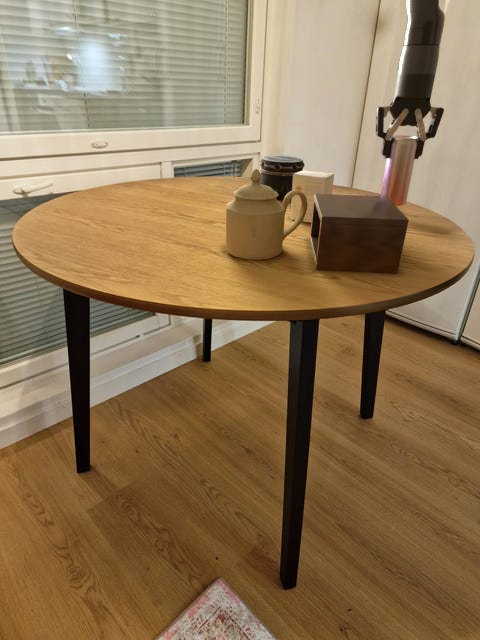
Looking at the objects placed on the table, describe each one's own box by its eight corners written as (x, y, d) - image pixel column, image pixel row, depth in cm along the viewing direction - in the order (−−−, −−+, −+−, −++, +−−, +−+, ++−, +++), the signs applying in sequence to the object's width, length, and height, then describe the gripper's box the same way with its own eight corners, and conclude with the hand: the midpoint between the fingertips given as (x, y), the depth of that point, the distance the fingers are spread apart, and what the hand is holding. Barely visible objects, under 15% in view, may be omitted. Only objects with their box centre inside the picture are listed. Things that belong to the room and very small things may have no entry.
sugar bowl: (265, 233, 91) (269, 159, 84) (306, 246, 84) (314, 167, 77) (213, 248, 82) (212, 167, 75) (253, 265, 75) (257, 177, 68)
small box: (329, 219, 101) (335, 173, 96) (321, 225, 97) (326, 177, 92) (298, 214, 105) (302, 169, 99) (289, 219, 100) (292, 173, 95)
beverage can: (374, 204, 101) (385, 136, 93) (387, 200, 104) (398, 134, 97) (397, 209, 97) (410, 139, 90) (410, 205, 101) (423, 136, 93)
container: (304, 191, 126) (307, 156, 121) (298, 201, 115) (302, 163, 110) (262, 188, 129) (264, 153, 124) (253, 198, 118) (254, 160, 113)
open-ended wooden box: (378, 242, 87) (386, 196, 82) (397, 273, 73) (409, 219, 68) (309, 239, 88) (314, 193, 83) (315, 269, 74) (322, 216, 69)
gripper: (384, 71, 85) (371, 160, 93) (459, 72, 84) (438, 161, 92) (377, 72, 91) (365, 155, 99) (446, 72, 90) (428, 156, 98)
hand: (400, 157), depth 96 cm, fingers closed on beverage can, 6 cm apart
